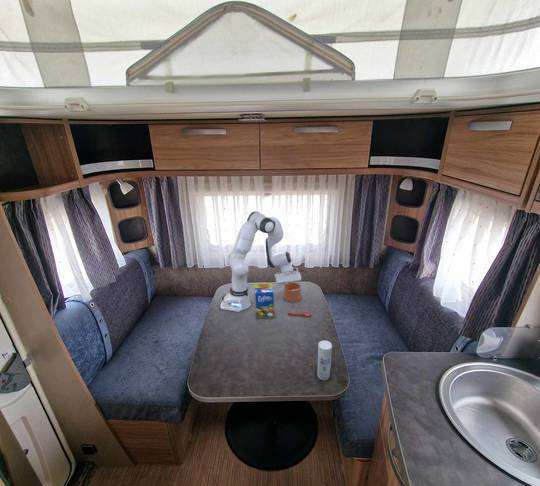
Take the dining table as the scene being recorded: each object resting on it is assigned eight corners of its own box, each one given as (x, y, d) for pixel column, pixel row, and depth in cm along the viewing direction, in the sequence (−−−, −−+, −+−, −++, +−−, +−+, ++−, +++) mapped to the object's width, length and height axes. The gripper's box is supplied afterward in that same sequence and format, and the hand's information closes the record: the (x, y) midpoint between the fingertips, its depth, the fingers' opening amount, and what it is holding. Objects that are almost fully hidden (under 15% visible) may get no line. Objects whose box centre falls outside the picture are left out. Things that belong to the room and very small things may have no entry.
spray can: (328, 370, 148) (330, 340, 140) (331, 380, 142) (333, 349, 134) (316, 370, 148) (317, 340, 140) (318, 380, 142) (319, 349, 134)
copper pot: (283, 301, 211) (283, 289, 207) (285, 293, 222) (285, 282, 218) (299, 302, 209) (299, 290, 205) (301, 294, 220) (301, 282, 216)
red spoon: (287, 316, 194) (287, 314, 193) (288, 312, 198) (288, 311, 197) (310, 317, 192) (310, 315, 191) (310, 314, 195) (310, 312, 195)
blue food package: (256, 313, 198) (254, 282, 188) (274, 312, 198) (272, 281, 188) (256, 318, 192) (254, 286, 182) (274, 318, 193) (273, 285, 182)
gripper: (274, 271, 219) (277, 288, 215) (299, 268, 223) (303, 284, 218) (273, 274, 225) (276, 290, 221) (298, 270, 229) (301, 287, 224)
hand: (290, 287), depth 220 cm, fingers closed, pressing on copper pot
